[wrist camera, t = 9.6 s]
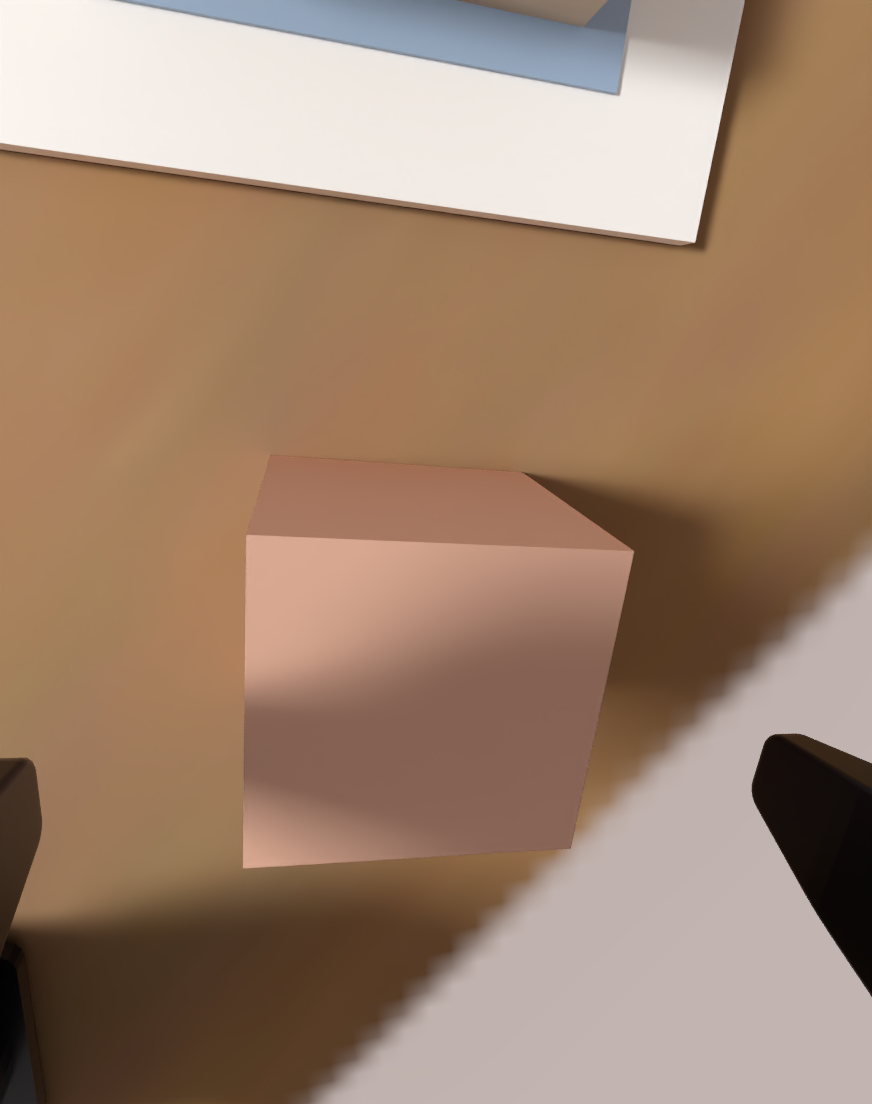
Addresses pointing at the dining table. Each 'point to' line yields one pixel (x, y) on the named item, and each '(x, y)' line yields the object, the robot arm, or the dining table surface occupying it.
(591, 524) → the terracotta cube
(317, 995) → the dining table surface
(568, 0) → the maple block
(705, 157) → the board
